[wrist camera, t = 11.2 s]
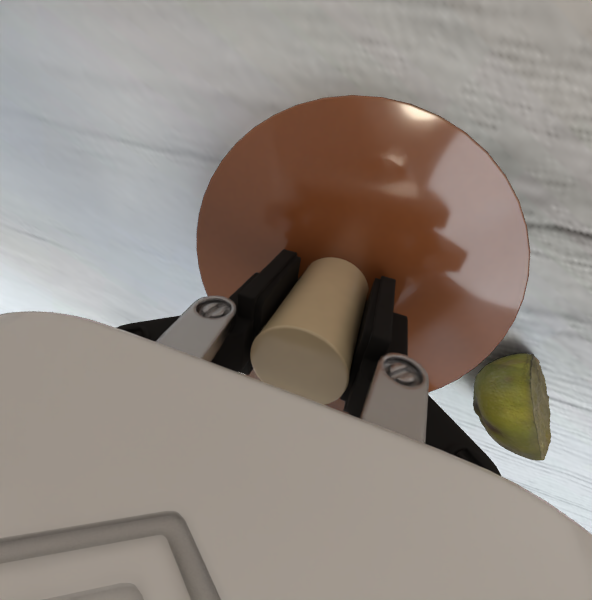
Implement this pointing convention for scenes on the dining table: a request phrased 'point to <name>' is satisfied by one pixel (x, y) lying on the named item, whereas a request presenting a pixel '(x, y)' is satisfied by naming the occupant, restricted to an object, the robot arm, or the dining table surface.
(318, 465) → the robot arm
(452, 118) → the dining table surface
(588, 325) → the dining table surface
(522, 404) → the lime
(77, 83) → the dining table surface
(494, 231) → the lid
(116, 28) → the dining table surface
